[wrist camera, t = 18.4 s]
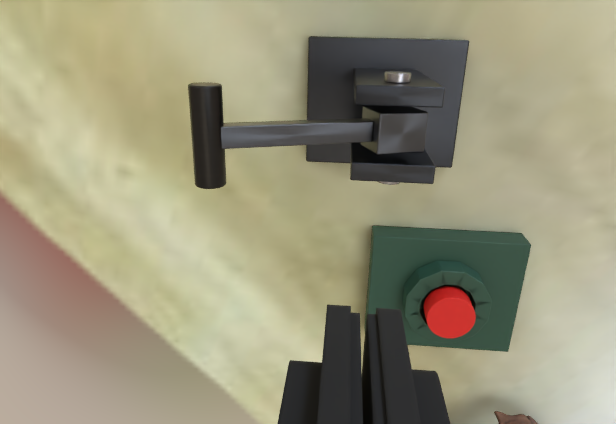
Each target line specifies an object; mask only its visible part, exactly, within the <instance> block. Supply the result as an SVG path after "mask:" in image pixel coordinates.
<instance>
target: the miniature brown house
mask: <svg viewBox="0 0 616 424" xmlns="http://www.w3.org/2000/svg"><path fill="white" fill-rule="evenodd" d="M494 413H495V415H496V417H497V419H498V422H499V424H537V422H536V421H535V420H534V419H533V418H532V417H530V416H525V415H522V414H519V415H512V416H511V415H507V414H504V413H502V412H498V411H495V412H494Z"/></svg>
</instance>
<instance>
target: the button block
mask: <svg viewBox="0 0 616 424" xmlns="http://www.w3.org/2000/svg"><path fill="white" fill-rule="evenodd" d="M530 248H531V244H530V243H529V242H528V240H527V239H526V238H525V237H524V236H523V234H522V233H505V232H486V231H467V230H448V229H429V228H410V227H391V226H372V238H371V251H370V264H369V277H368V289H367V302H366V315H365V329H366V317H367V314H376V308H385V309H400V310H401V313H402V318H403V324H404V330H405V335H406V341H407V345H421V346H435V347H449V348H463V349H477V350H492V351H506V352H508V349H509V345H510V340H511V336H512V331H513V326H514V322H515V317H516V312H517V308H518V303H519V299H520V294H521V289H522V285H523V280H524V275H525V271H526V266H527V262H528V257H529V252H530ZM444 286H452V287H456V288H459V289H461V290H462V291H464V292H465V293H466V294H467V295H468V297H469V299H470V301H471V304H472V306H473V308H474V311H475V314H476V319H475V323H474V325H473V327H472V328H471V330H470V331H469V332H467V333H466V334H464V335H463V336H460V337H457V338H443V337H440V336H438V335H436V334H434V333H433V332H432V331H431V330H430V328H429V327H428V325H427V321H426V317H425V313H424V308H423V307H424V301H425V299H426V297H427V296H428V295H429V294H430V293H431V292H432V291H433V290H435V289H437V288H440V287H444Z"/></svg>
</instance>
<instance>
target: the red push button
mask: <svg viewBox="0 0 616 424" xmlns="http://www.w3.org/2000/svg"><path fill="white" fill-rule="evenodd" d="M423 308H424V313H425V317H426V321H427V325H428V327H429V328H430V330H431V331H432V332H433V333H434V334H436V335H438V336H440V337H443V338H457V337H460V336H463V335H464V334H466V333H467V332H469V331H470V330H471V328H472V327H473V325H474V323H475V319H476V314H475V311H474V308H473V306H472V304H471V301H470V299H469V297H468V295H467V294H466V293H465V292H464V291H462V290H461V289H459V288H456V287H452V286H444V287H440V288H437V289H435V290H433V291H432V292H431V293H430V294H429V295H428V296H427V297H426V299H425V301H424V307H423Z"/></svg>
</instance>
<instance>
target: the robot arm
mask: <svg viewBox="0 0 616 424" xmlns="http://www.w3.org/2000/svg"><path fill="white" fill-rule="evenodd" d="M278 424H450V421H449V417H448V413H447V409H446V405H445V401H444V397H443V393H442V389H441V385H440V381H439V377H438V374H437V373H436V371H426V370H412V369H411V364H410V358H409V352H408V347H407V341H406V335H405V330H404V324H403V318H402V313H401V310H400V309H385V308H376V314H367V317H366V329H365V342H364V355H363V367H362V373H361V339H360V313H351V306H339V305H327V314H326V325H325V337H324V348H323V360H322V363H318V362H304V361H291V360H290V362H289V366H288V371H287V376H286V382H285V387H284V392H283V398H282V403H281V409H280V414H279V419H278Z"/></svg>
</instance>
